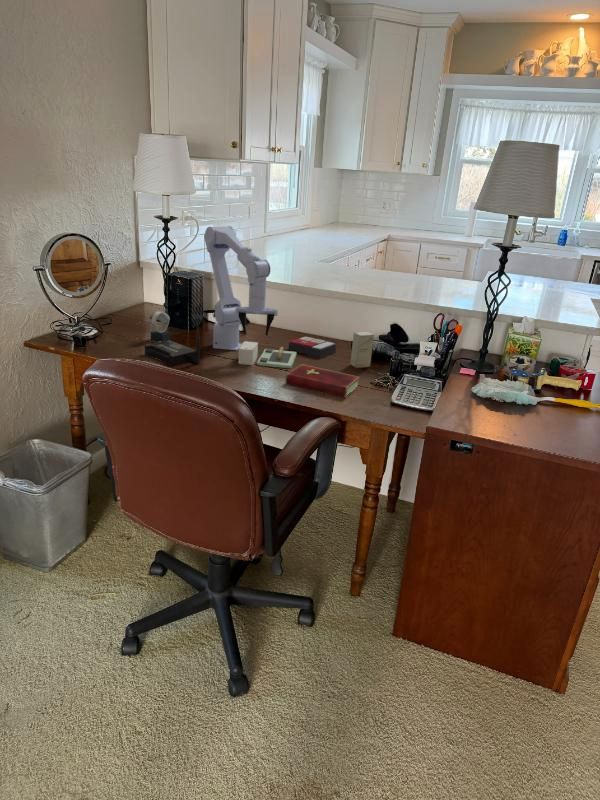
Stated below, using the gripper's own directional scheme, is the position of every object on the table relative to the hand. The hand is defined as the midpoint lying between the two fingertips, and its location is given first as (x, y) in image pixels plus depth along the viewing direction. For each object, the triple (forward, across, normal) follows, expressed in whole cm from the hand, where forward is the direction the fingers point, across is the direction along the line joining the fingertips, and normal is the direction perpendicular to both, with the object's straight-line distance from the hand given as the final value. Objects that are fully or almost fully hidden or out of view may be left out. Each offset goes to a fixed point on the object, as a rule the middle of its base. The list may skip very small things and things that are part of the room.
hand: (255, 334), depth 197 cm
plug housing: (+10, -2, -1) cm, 10 cm away
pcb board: (+9, +8, +1) cm, 12 cm away
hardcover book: (+10, +23, -22) cm, 33 cm away
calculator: (+10, +21, +14) cm, 28 cm away
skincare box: (+10, +38, 0) cm, 39 cm away
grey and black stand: (+10, -28, -4) cm, 30 cm away
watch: (+10, -37, +17) cm, 42 cm away
